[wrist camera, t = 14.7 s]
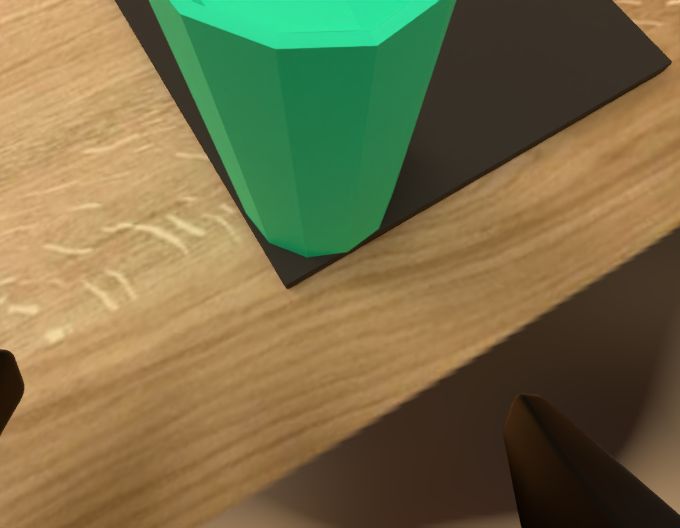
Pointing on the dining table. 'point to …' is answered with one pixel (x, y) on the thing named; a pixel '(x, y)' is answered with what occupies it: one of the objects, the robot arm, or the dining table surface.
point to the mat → (468, 96)
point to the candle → (309, 104)
